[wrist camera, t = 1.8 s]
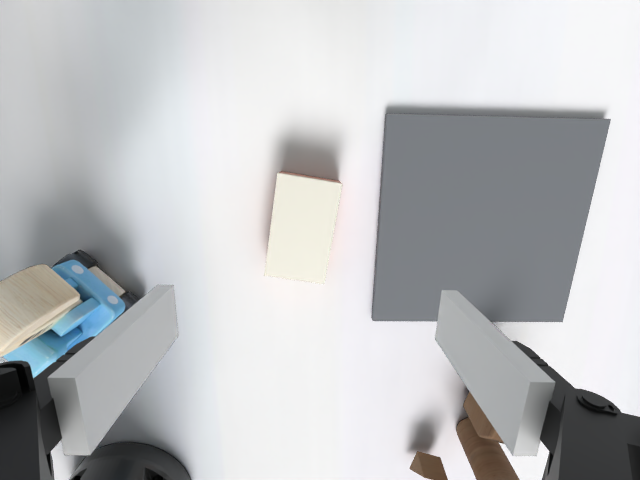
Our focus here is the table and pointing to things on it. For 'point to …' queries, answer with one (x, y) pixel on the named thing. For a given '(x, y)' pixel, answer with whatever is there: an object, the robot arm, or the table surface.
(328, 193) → the card deck
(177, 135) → the table surface
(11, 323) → the toy excavator
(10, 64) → the table surface
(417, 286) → the rubber mat
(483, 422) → the wooden block set
